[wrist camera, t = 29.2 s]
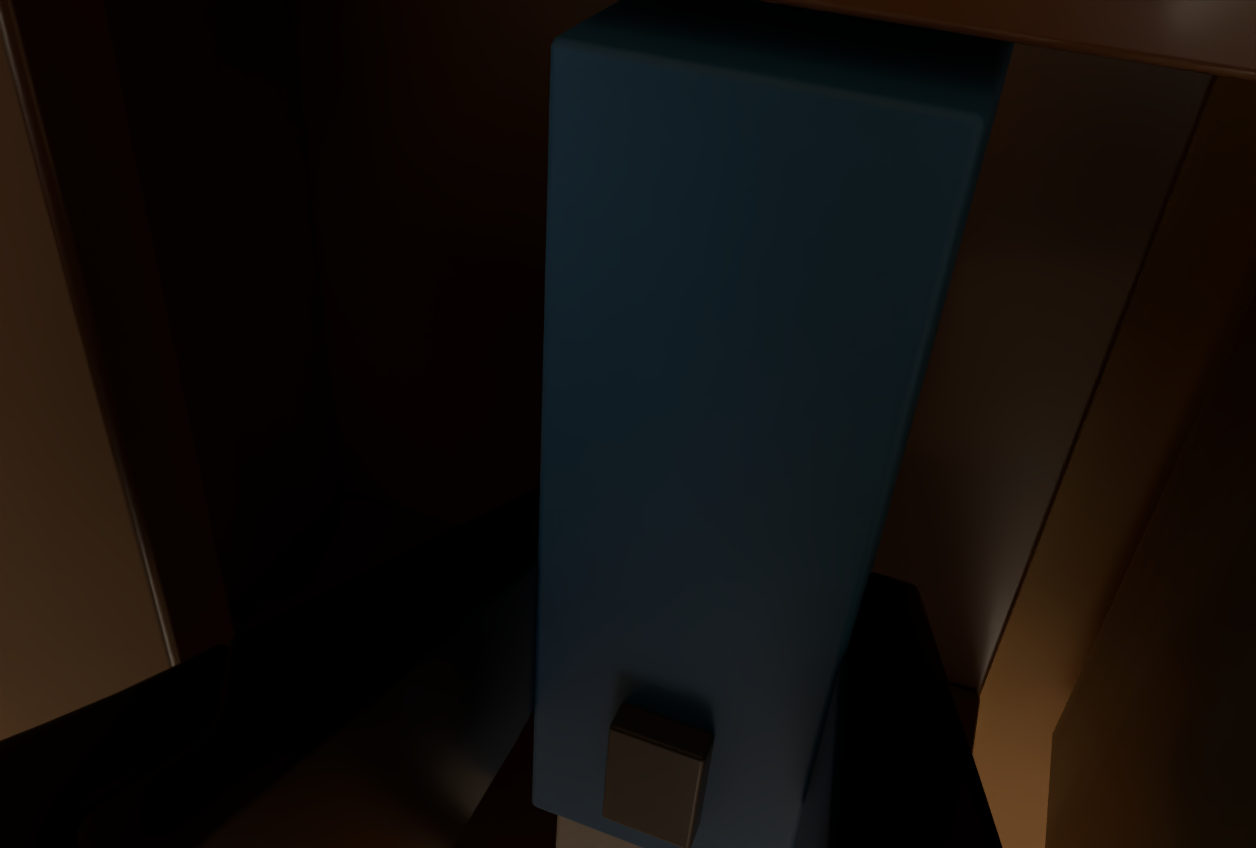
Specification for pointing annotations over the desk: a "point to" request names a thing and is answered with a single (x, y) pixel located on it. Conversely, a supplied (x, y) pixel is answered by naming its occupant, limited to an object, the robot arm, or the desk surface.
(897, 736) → the robot arm
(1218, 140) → the desk surface
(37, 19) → the cabinet
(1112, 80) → the drawer
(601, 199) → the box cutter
